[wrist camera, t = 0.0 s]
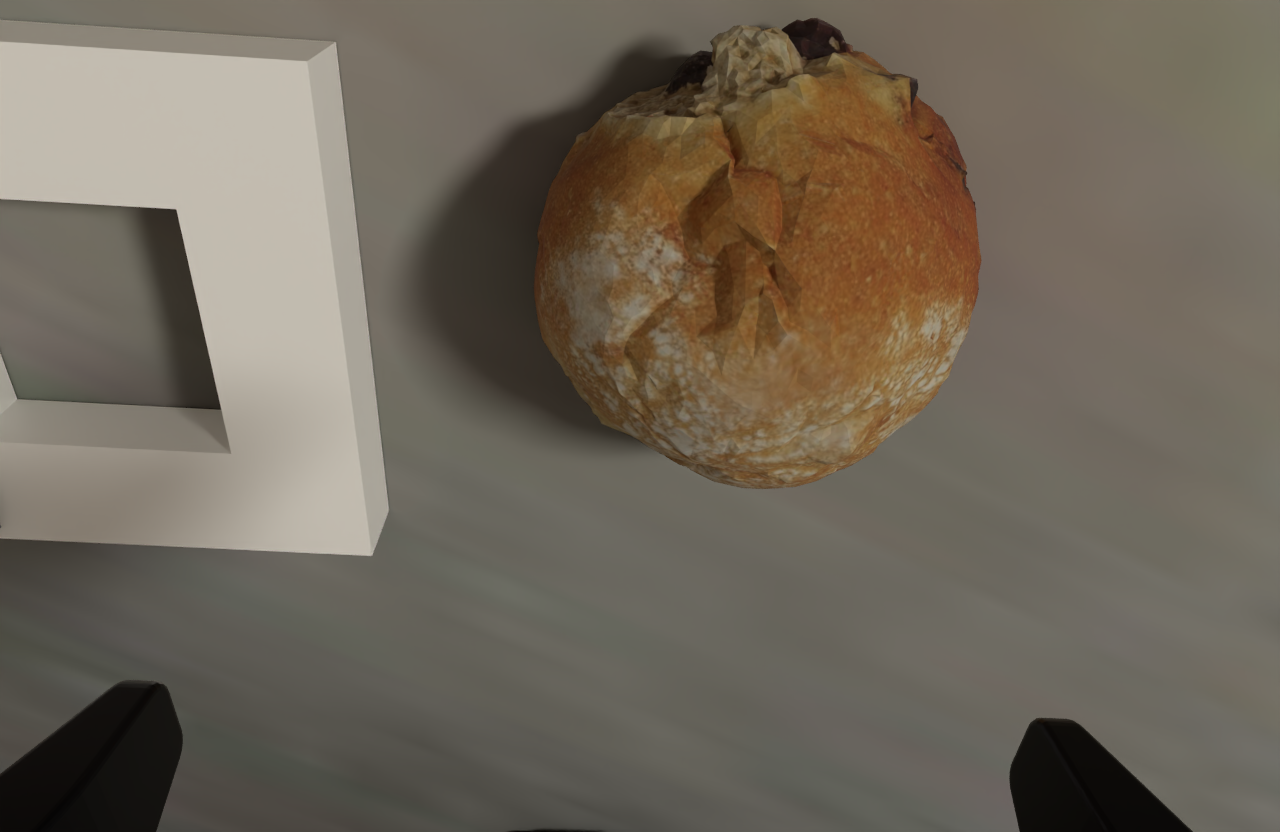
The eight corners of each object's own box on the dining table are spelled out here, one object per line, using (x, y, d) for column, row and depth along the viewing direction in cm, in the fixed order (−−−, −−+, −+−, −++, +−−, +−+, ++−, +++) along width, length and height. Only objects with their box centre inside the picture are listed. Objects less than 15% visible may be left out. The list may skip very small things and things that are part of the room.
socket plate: (389, 510, 27) (366, 570, 24) (-63, 488, 26) (-126, 547, 24) (335, 41, 20) (297, 67, 17) (-283, 1, 19) (-401, 23, 17)
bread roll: (527, 227, 26) (448, 466, 21) (661, -110, 17) (575, 168, 13) (831, 347, 28) (815, 586, 24) (1079, 97, 20) (1125, 395, 15)
